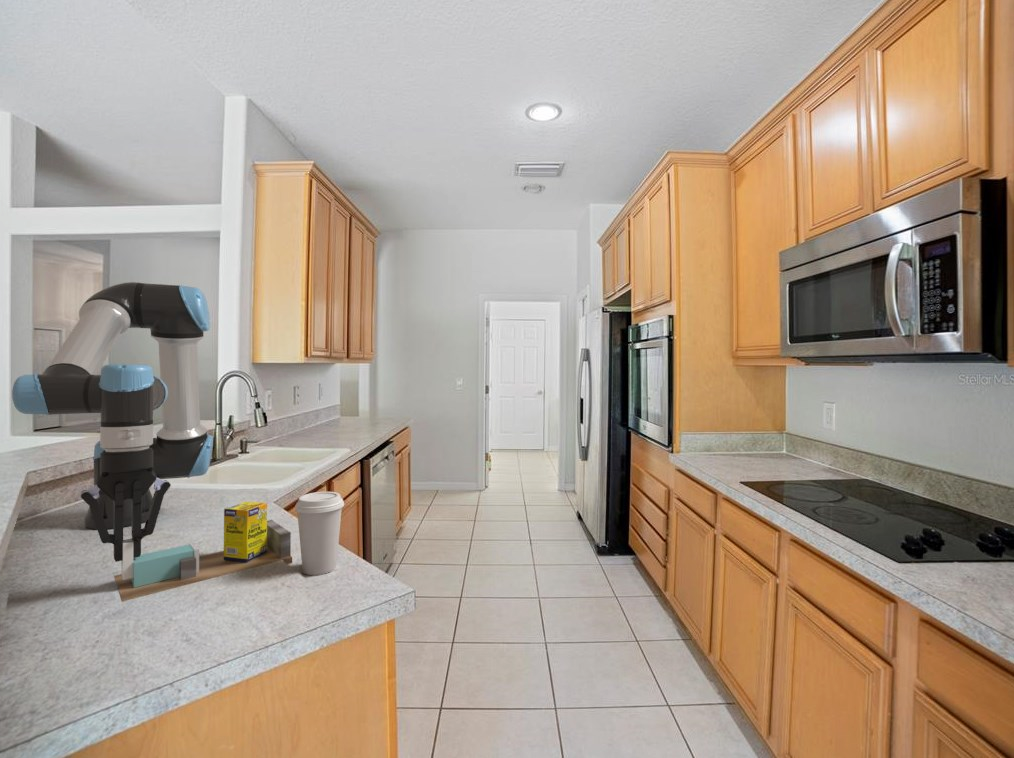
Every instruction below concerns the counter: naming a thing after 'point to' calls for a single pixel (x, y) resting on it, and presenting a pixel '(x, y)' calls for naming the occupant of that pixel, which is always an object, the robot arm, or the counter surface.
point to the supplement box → (245, 531)
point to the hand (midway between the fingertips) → (127, 576)
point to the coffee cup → (319, 530)
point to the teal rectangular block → (161, 564)
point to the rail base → (213, 565)
